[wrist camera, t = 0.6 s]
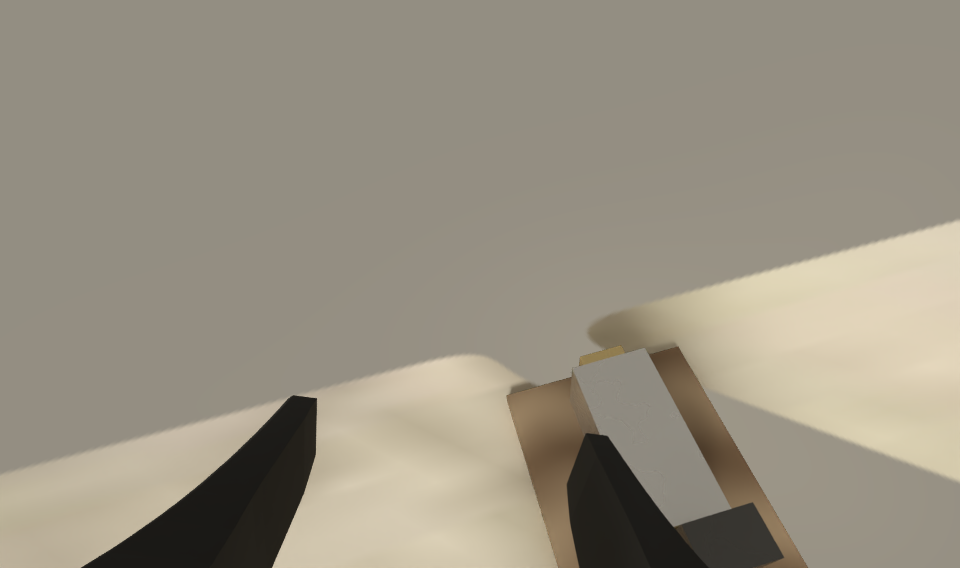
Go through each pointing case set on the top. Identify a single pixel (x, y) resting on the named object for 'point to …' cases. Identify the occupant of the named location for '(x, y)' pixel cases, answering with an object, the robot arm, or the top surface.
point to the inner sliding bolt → (721, 524)
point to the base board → (558, 438)
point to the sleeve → (647, 433)
